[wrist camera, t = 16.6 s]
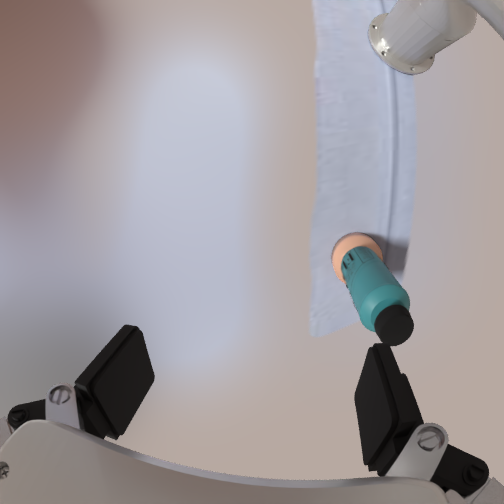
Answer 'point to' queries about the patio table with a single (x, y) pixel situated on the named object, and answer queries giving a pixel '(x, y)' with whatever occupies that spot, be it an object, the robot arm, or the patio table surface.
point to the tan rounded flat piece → (349, 243)
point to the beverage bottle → (377, 296)
